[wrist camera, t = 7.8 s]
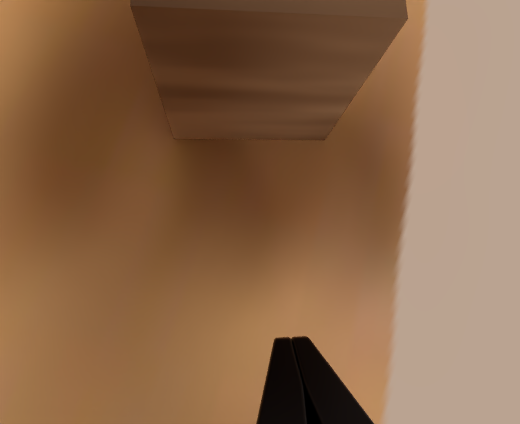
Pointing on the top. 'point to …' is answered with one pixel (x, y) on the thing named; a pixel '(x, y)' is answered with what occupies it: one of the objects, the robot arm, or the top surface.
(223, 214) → the top surface
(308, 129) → the walnut block
